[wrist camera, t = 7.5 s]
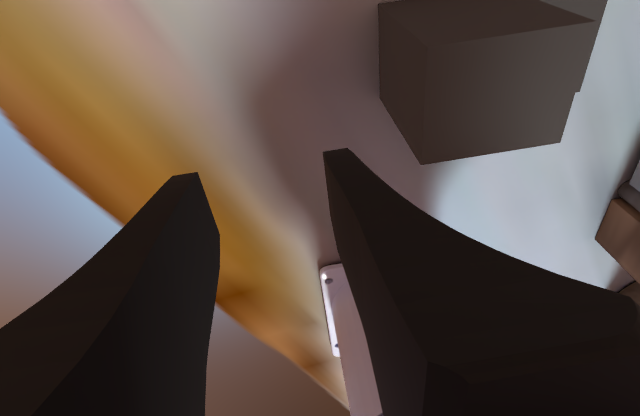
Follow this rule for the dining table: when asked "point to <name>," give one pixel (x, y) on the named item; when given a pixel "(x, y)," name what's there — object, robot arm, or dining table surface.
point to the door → (636, 178)
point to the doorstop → (483, 71)
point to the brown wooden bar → (623, 230)
